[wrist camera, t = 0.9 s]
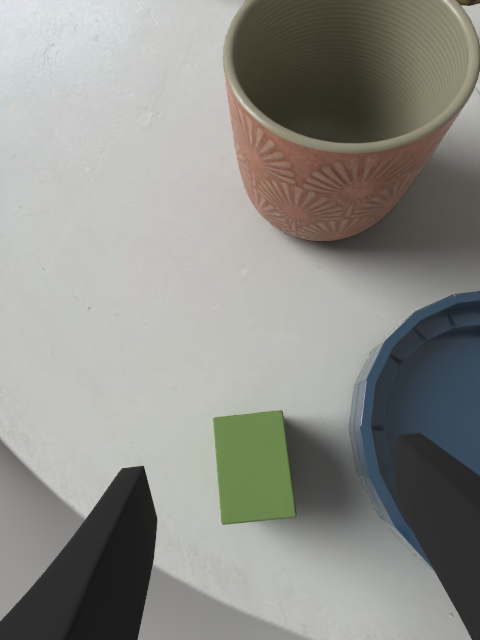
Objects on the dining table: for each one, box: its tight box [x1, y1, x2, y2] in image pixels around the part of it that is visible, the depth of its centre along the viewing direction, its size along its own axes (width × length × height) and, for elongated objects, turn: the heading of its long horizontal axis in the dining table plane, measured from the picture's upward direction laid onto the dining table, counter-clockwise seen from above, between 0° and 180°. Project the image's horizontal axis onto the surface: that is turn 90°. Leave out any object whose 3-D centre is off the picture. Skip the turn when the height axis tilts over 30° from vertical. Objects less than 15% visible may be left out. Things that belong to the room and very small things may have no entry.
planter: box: [223, 0, 480, 241], centre depth 24 cm, size 12×12×11 cm
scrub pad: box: [213, 410, 296, 525], centre depth 21 cm, size 5×4×5 cm
